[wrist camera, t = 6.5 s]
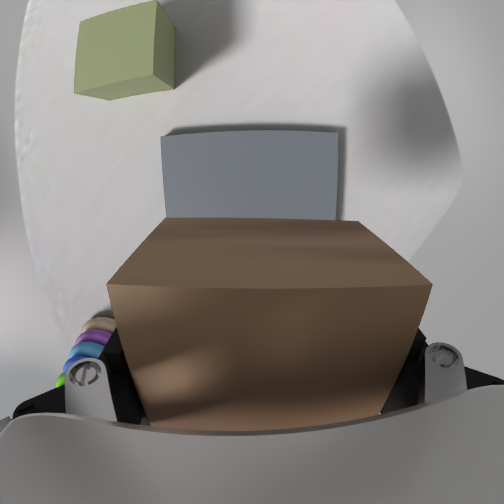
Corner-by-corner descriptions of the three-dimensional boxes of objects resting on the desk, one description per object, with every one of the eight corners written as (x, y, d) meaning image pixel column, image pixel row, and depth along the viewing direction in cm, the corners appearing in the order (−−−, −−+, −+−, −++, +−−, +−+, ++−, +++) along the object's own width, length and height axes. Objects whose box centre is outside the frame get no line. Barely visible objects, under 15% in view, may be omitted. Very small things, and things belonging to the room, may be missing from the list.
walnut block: (165, 217, 10) (106, 284, 5) (358, 221, 10) (433, 284, 5) (182, 364, 12) (164, 454, 8) (330, 363, 13) (358, 449, 8)
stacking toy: (146, 323, 28) (83, 483, 11) (146, 373, 31) (106, 510, 14) (81, 306, 27) (-7, 435, 10) (89, 356, 30) (30, 476, 13)
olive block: (112, 41, 18) (80, 21, 12) (175, 28, 18) (157, -1, 12) (109, 100, 20) (73, 93, 14) (174, 89, 20) (152, 74, 14)
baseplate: (163, 136, 21) (160, 136, 20) (334, 133, 22) (338, 132, 21) (178, 289, 27) (176, 295, 26) (326, 285, 27) (329, 290, 26)
